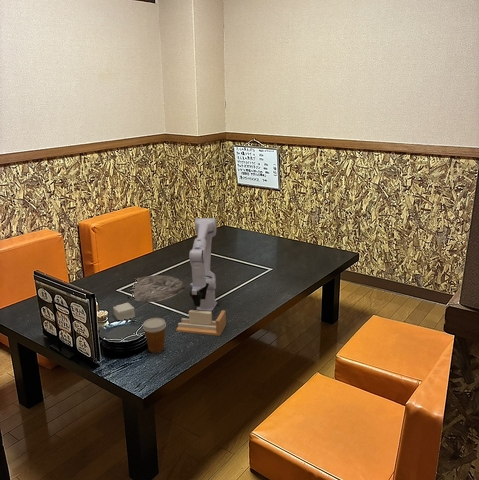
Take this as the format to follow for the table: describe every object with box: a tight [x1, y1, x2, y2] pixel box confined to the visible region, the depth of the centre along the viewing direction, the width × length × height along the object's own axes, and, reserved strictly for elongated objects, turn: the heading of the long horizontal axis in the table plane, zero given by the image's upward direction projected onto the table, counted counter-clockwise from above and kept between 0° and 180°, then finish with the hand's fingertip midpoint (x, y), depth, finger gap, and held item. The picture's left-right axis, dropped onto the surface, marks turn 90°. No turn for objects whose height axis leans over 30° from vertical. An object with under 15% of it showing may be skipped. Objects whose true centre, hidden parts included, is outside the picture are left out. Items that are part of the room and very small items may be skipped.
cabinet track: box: [175, 310, 227, 336], centre depth 208 cm, size 10×20×7 cm, turn 76°
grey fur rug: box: [130, 274, 186, 303], centre depth 253 cm, size 33×35×1 cm
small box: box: [112, 302, 136, 321], centre depth 221 cm, size 8×8×5 cm
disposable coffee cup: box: [142, 317, 167, 353], centre depth 192 cm, size 10×10×12 cm
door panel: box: [188, 309, 213, 326], centre depth 208 cm, size 2×10×7 cm, turn 76°
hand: (200, 302), depth 212 cm, fingers open, 7 cm apart
